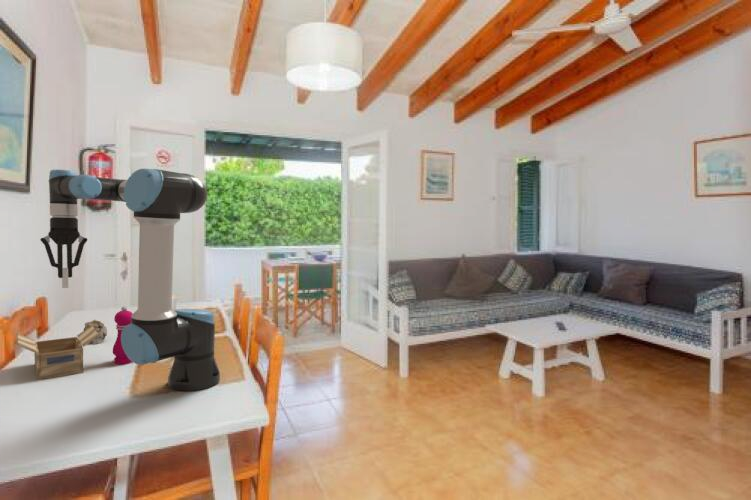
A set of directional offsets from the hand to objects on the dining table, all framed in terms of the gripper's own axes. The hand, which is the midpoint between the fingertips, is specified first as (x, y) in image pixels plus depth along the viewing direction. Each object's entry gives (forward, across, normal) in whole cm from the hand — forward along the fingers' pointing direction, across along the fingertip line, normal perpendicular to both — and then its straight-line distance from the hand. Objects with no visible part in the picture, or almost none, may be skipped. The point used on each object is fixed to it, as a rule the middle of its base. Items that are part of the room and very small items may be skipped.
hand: (65, 287), depth 145 cm
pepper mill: (+28, -16, +4) cm, 32 cm away
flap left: (+17, +10, 0) cm, 20 cm away
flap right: (+17, -6, 0) cm, 18 cm away
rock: (+28, -12, -34) cm, 45 cm away
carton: (+27, +2, 0) cm, 27 cm away
